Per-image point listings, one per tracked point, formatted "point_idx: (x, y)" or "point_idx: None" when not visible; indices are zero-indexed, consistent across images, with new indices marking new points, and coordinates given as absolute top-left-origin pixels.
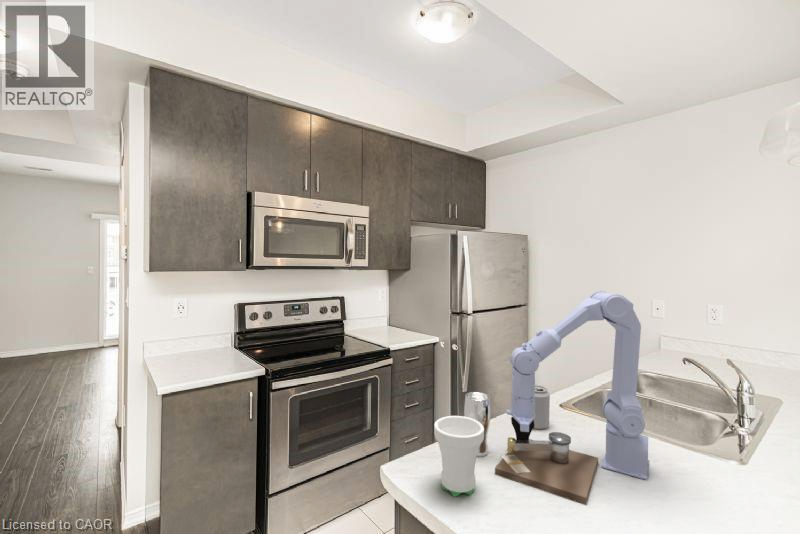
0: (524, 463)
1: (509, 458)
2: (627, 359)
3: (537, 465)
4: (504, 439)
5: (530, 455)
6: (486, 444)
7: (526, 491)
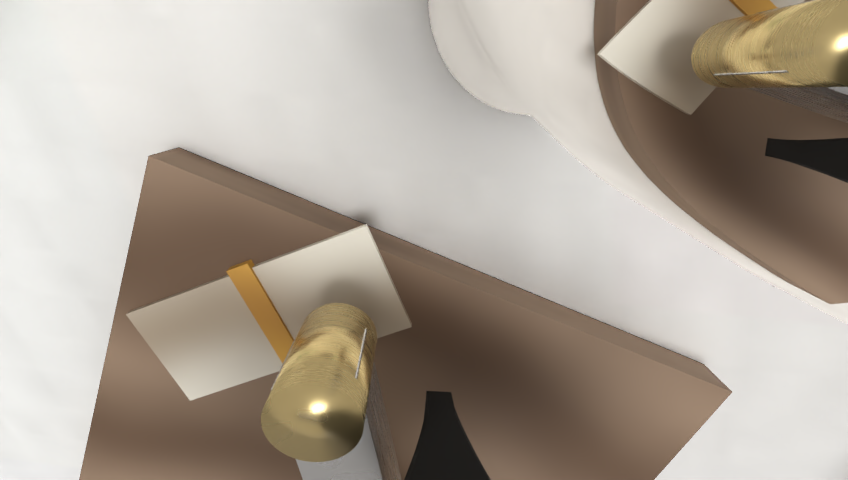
0: None
1: (337, 287)
2: None
3: None
4: None
5: None
6: (511, 96)
7: (58, 330)
